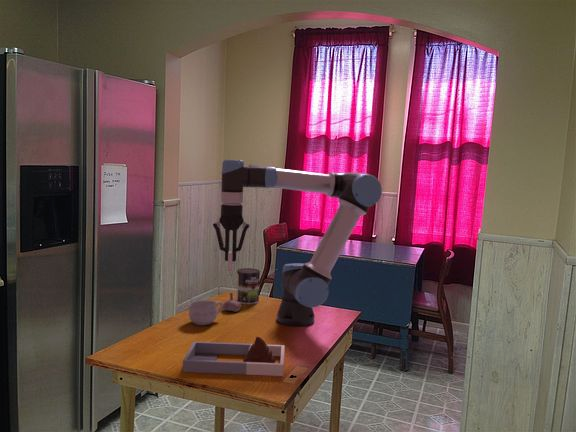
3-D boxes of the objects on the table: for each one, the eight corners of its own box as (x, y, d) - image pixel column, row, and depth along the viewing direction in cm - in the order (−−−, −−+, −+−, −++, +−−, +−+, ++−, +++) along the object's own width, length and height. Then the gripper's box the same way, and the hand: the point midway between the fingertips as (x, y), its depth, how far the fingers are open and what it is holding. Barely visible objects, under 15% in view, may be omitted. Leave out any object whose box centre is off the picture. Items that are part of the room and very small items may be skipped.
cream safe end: (246, 374, 153) (246, 363, 152) (250, 354, 169) (251, 343, 168) (282, 376, 153) (283, 364, 152) (284, 355, 169) (284, 345, 168)
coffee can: (263, 302, 228) (264, 271, 226) (242, 305, 223) (243, 274, 221) (252, 297, 237) (253, 267, 235) (232, 299, 231) (232, 269, 230)
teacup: (191, 329, 191) (192, 308, 190) (185, 320, 201) (185, 300, 200) (227, 325, 196) (228, 305, 196) (219, 316, 206) (220, 297, 205)
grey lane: (182, 371, 153) (182, 360, 153) (193, 351, 169) (193, 341, 169) (246, 374, 153) (246, 363, 152) (250, 354, 169) (251, 343, 168)
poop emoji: (245, 372, 155) (246, 342, 154) (240, 361, 163) (241, 332, 162) (277, 369, 158) (278, 340, 157) (271, 358, 166) (272, 330, 165)
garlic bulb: (219, 310, 215) (219, 291, 214) (233, 307, 220) (233, 289, 219) (230, 314, 210) (230, 295, 209) (244, 311, 215) (244, 292, 214)
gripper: (251, 203, 182) (249, 268, 185) (215, 202, 183) (213, 267, 185) (249, 205, 175) (247, 273, 178) (211, 204, 175) (210, 271, 178)
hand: (230, 270), depth 181 cm, fingers closed
